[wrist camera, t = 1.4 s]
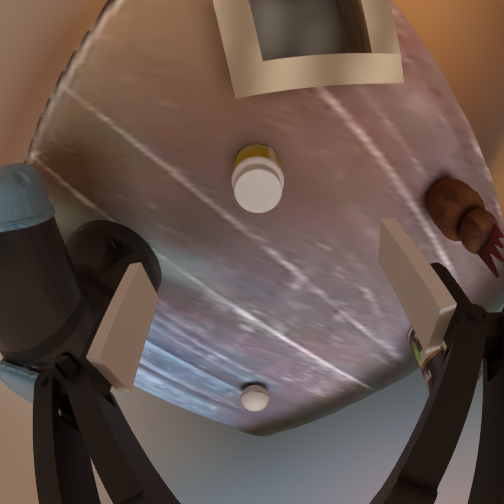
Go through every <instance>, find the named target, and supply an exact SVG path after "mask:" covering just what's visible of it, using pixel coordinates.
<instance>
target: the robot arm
mask: <svg viewBox="0 0 504 504" xmlns="http://www.w3.org/2000/svg"><path fill="white" fill-rule="evenodd" d="M54 214H55V209H54V206H52V204H51V203H50V202H49V199H48V196H47V193H46V191H45V188H44V185H43V182H42V179H41V176H40V174H39V172H38V171H37V170H36V169H35V168H34V167H33V166H31V165H29V164H25V163H17V164H11V165H6V166H2V167H0V353H1V354H2V356H3V359H2V360H1V361H0V380H1V381H2V382H3V383H4V384H5V385H6V386H7V387H8V388H10V389H11V390H12V391H13V392H15V393H16V394H18V395H19V396H21V397H22V398H24V399H25V400H27V401H28V402H30V403H32V404H33V450H34V466H35V477H36V485H37V493H38V499H39V504H101V503H100V499H99V495H98V491H97V487H96V483H95V478H94V474H93V469H92V464H91V459H92V462H93V464H94V466H95V468H96V470H97V473H98V474H99V477H100V479H101V481H102V483H103V485H104V487H105V489H106V491H107V493H108V495H109V497H110V498H111V500H112V502H113V504H181V503H179V501H178V500H177V499H176V498H175V496H174V495H173V493H172V492H171V491H170V489H169V488H168V487H167V485H166V484H165V483H164V481H163V480H162V478H161V477H160V475H159V474H158V472H157V471H156V469H155V468H154V466H153V465H152V463H151V462H150V460H149V458H148V457H147V455H146V454H145V452H144V450H143V449H142V447H141V445H140V444H139V442H138V440H137V439H136V437H135V435H134V434H133V432H132V430H131V428H130V426H129V425H128V423H127V421H126V419H125V417H124V415H123V413H122V411H121V409H120V407H119V406H118V404H117V402H116V399H115V398H114V396H113V394H112V393H111V392H110V389H111V386H113V387H114V388H115V389H116V390H117V391H118V392H131V390H132V387H133V383H134V379H135V376H136V372H137V369H138V365H139V361H140V358H141V355H142V351H143V348H144V344H145V341H146V338H147V335H148V331H149V328H150V325H151V322H152V319H153V316H154V312H155V309H156V306H157V303H158V300H159V297H158V295H157V291H158V289H159V286H160V281H161V272H160V267H159V263H158V261H157V259H156V256H155V255H154V253H153V251H152V250H151V248H150V247H149V246H148V245H147V243H146V242H145V241H144V240H143V239H142V238H141V237H139V236H138V235H137V234H136V233H134V232H133V231H131V230H130V229H128V228H126V227H124V226H122V225H119V224H117V223H113V222H109V221H93V222H89V223H86V224H84V225H82V226H81V227H79V228H78V229H77V230H76V231H75V233H74V234H73V235H72V236H71V237H70V238H69V240H68V241H67V243H66V245H65V244H64V241H63V239H62V236H61V234H60V231H59V228H58V225H57V223H56V220H55V217H54ZM379 263H380V265H381V267H382V269H383V270H384V272H385V274H386V276H387V278H388V279H389V281H390V283H391V285H392V287H393V289H394V291H395V293H396V294H397V296H398V298H399V300H400V302H401V304H402V306H403V308H404V310H405V312H406V314H407V316H408V318H409V320H410V322H411V324H412V326H413V329H414V331H415V333H416V335H417V337H418V339H419V341H420V344H421V346H422V348H423V350H424V352H425V353H428V352H431V351H434V350H437V349H440V347H441V344H442V342H443V341H444V342H445V344H446V346H447V348H446V350H445V352H444V354H443V356H442V358H441V361H442V362H441V365H440V368H439V370H438V373H437V376H436V379H435V382H434V384H433V387H432V389H431V392H430V395H429V397H428V400H427V402H426V404H425V407H424V409H423V411H422V414H421V416H420V418H419V420H418V423H417V424H416V427H415V429H414V431H413V433H412V435H411V437H410V439H409V441H408V443H407V445H406V447H405V449H404V451H403V452H402V454H401V456H400V458H399V460H398V461H397V463H396V465H395V467H394V469H393V470H392V472H391V474H390V475H389V477H388V478H387V480H386V482H385V483H384V485H383V486H382V488H381V489H380V491H379V492H378V493H377V494H376V496H375V497H374V498H373V499H372V501H371V502H370V504H434V502H435V500H436V497H437V488H438V485H439V483H440V481H441V479H442V477H443V475H444V473H445V471H446V468H447V466H448V464H449V462H450V459H451V457H452V455H453V453H454V450H455V448H456V445H457V443H458V440H459V437H460V435H461V432H462V429H463V426H464V423H465V421H466V417H467V414H468V411H469V408H470V405H471V402H472V398H473V394H474V391H475V387H476V384H477V380H478V375H479V371H480V367H481V362H482V359H483V405H482V422H481V432H480V442H479V449H478V456H477V462H476V468H475V473H474V478H473V483H472V487H471V492H470V496H469V500H468V504H504V308H503V310H502V312H498V313H497V312H494V313H488V312H486V310H485V309H484V308H483V307H481V306H479V305H477V304H472V303H471V302H470V300H469V299H468V297H467V296H466V294H465V293H464V292H463V290H462V289H461V287H460V286H459V285H458V283H456V280H455V279H454V278H453V277H452V275H451V274H450V272H449V271H448V270H447V268H446V267H444V266H443V265H441V264H440V263H438V262H436V263H432V264H429V262H428V261H427V260H426V258H425V257H424V256H423V254H422V253H421V252H420V250H419V249H418V248H417V246H416V245H415V244H414V243H413V241H412V240H411V239H410V237H409V236H408V235H407V234H406V232H405V231H404V230H403V229H402V227H401V226H400V225H399V224H398V223H397V221H396V220H395V219H394V218H387V219H381V220H380V249H379ZM90 457H91V459H90Z"/></svg>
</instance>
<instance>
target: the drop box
mask: <svg viewBox="0 0 504 504" xmlns="http://www.w3.org/2000/svg"><path fill="white" fill-rule="evenodd" d="M213 4H214V8H215V13H216V17H217V21H218V25H219V29H220V34H221V38H222V42H223V47H224V51H225V55H226V60H227V64H228V68H229V73H230V77H231V82H232V86H233V90H234V95H235V99H237V98H242V97H247V96H253V95H258V94H264V93H270V92H277V91H284V90H291V89H299V88H308V87H318V86H330V85H345V84H369V83H403V84H404V78H403V70H402V62H401V56H400V49H399V43H398V37H397V32H396V27H395V22H394V17H393V13H392V9H391V4H390V0H213Z"/></svg>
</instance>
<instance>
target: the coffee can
mask: <svg viewBox="0 0 504 504" xmlns="http://www.w3.org/2000/svg"><path fill="white" fill-rule="evenodd" d="M408 340H409V342H410V344H411V346H412V349H413V351H414V353H415V356H416V358H417V361H418V363H419V366H420V368H421V371H422V374H423V377H424V379H425V382H426V385H427V387H428V390H429V393H430V392H431V389H432V387H433V384H434V382H435V379H436V376H437V373H438V370H439V368H440V365H441V362H442V361H441V358H442V356H443V354H444V352H445V350H446V348H447V346H446V344H445V342H444V341H443V342H442V344H441V347H440V349H437V350H434V351H431V352H428V353H425V352H424V350H423V348H422V346H421V344H420V341H419V339H418V337H417V335H416V333H415V331H414V329H413V326H412V327H411V328H410V330H409V332H408ZM482 374H483V367H482V366H481V367H480V371H479V375H478V379H479V378H480V377H481V375H482ZM477 381H478V380H477Z"/></svg>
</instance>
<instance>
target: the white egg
mask: <svg viewBox="0 0 504 504" xmlns="http://www.w3.org/2000/svg"><path fill="white" fill-rule="evenodd" d="M238 392H239V391H238ZM241 393H242V394H241V402H242V404H243V406H244V407H245V408H246V409H248V410H250V411H259V410H262V409H263V408H265V407H266V405H267V404H268V400H269V395H268V392H267V391H266V389H265V388H263V387H262V386H259V385H250V386H248V387H247V388H245V389H244V391H243V392H241Z"/></svg>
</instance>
